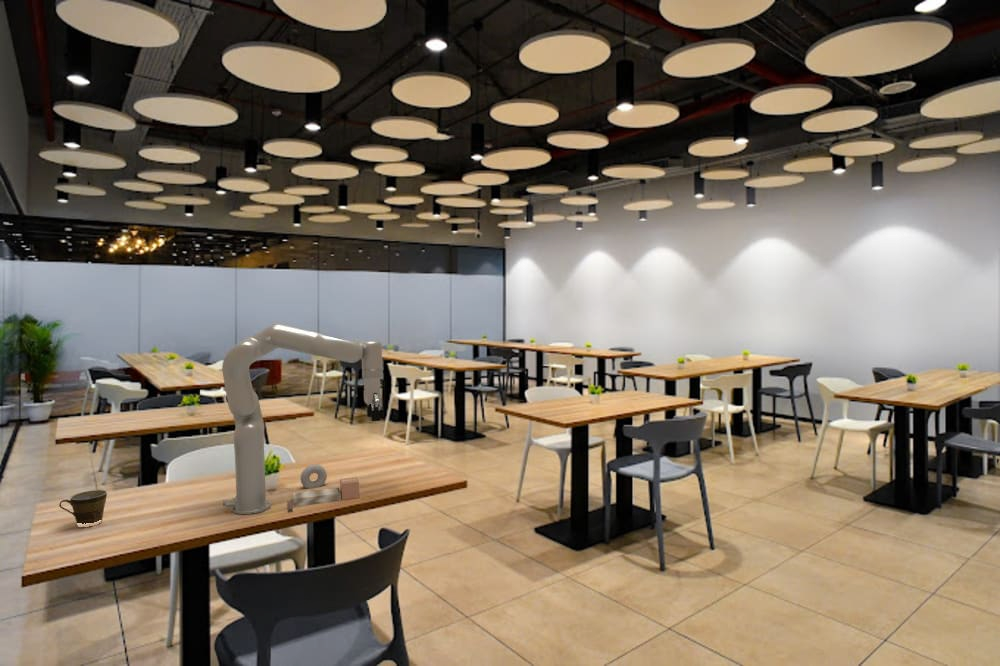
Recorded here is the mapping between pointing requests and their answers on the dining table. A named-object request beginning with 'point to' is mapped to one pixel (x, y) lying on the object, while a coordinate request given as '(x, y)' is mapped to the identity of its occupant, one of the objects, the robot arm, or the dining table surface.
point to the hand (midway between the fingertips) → (373, 418)
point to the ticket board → (314, 497)
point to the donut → (310, 470)
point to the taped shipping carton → (349, 488)
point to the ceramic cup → (87, 506)
